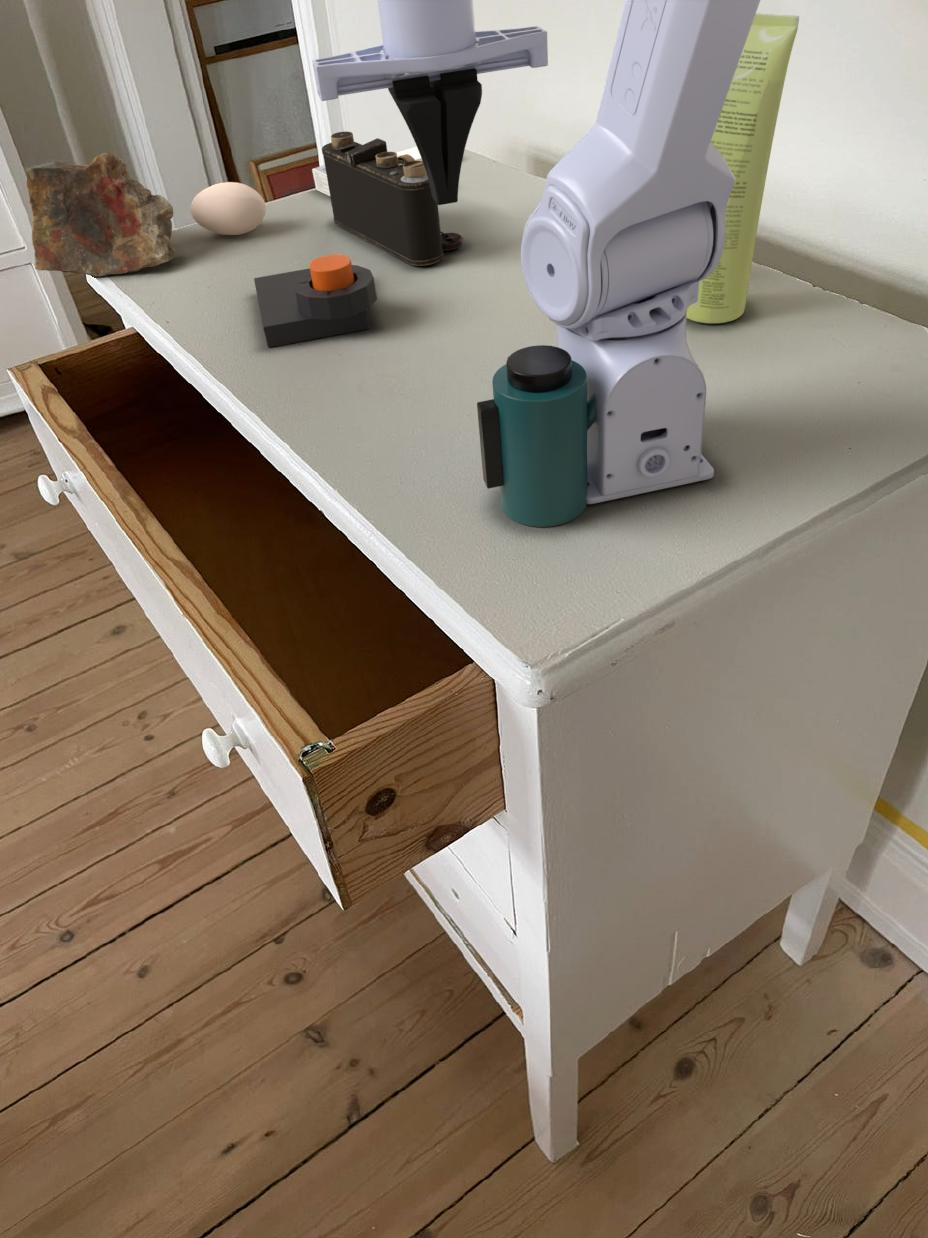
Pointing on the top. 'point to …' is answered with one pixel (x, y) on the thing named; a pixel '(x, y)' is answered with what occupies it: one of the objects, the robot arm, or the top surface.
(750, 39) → the tube
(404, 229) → the camera
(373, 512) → the top surface
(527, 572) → the top surface
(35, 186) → the rock
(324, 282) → the switch button
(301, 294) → the push button switch
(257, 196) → the egg
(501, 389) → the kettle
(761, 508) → the top surface
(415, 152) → the eraser
